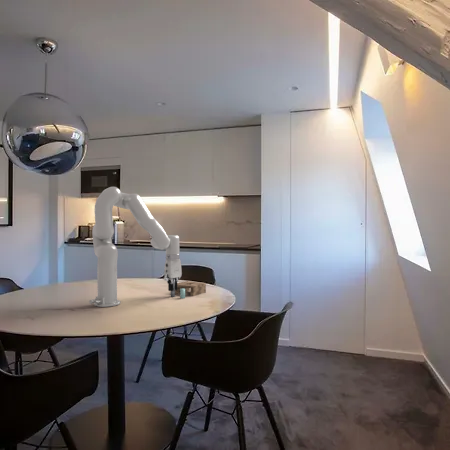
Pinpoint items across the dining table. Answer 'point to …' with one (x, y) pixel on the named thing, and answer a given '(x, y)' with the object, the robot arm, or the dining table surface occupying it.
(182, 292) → the short pin
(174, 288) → the long pin
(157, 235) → the robot arm
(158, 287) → the dining table surface
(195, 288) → the bridge
